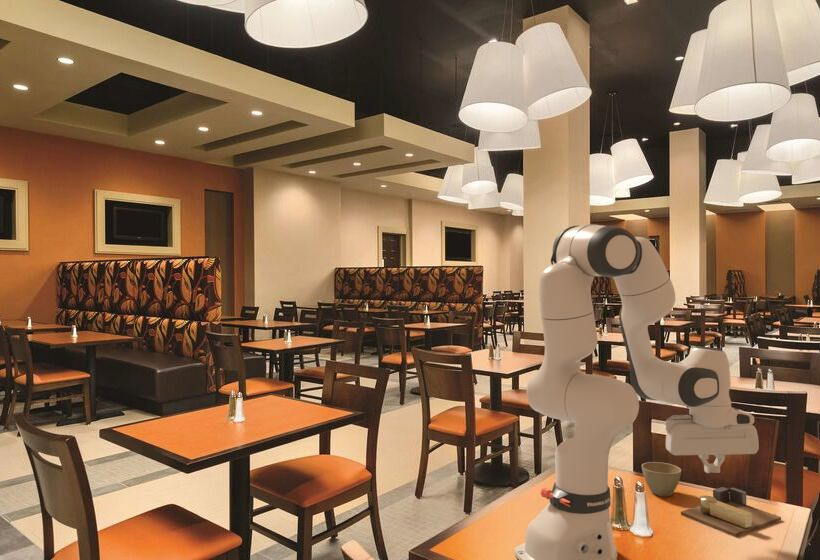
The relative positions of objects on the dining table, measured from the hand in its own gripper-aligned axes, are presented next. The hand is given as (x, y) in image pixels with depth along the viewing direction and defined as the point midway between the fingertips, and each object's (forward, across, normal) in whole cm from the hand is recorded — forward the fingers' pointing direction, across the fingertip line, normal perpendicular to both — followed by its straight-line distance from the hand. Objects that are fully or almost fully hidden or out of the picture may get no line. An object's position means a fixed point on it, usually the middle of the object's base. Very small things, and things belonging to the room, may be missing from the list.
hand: (712, 472), depth 131 cm
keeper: (+13, +10, +13) cm, 21 cm away
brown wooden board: (+14, +7, +6) cm, 16 cm away
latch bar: (+12, +4, +3) cm, 13 cm away
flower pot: (+14, -4, +22) cm, 26 cm away
